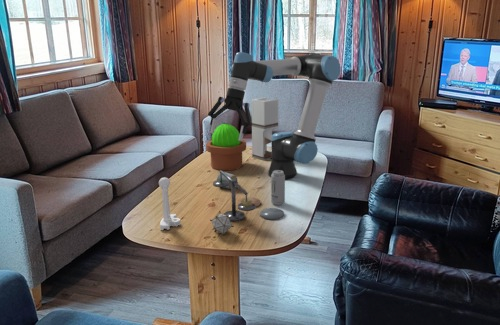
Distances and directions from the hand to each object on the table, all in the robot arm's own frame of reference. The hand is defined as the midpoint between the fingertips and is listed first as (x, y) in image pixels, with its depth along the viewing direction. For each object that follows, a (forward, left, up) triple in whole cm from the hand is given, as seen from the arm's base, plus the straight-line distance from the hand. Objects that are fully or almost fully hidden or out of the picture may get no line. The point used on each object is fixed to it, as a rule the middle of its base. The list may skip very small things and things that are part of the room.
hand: (225, 136), depth 197 cm
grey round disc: (-6, +25, -30) cm, 39 cm away
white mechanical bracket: (+32, +7, -30) cm, 45 cm away
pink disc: (-6, +9, -30) cm, 32 cm away
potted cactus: (-30, -44, -30) cm, 61 cm away
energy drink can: (-16, +17, -30) cm, 38 cm away
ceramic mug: (-11, -15, -30) cm, 36 cm away
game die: (+20, +26, -30) cm, 45 cm away
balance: (+8, +17, -30) cm, 35 cm away
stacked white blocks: (-58, -44, -30) cm, 79 cm away
